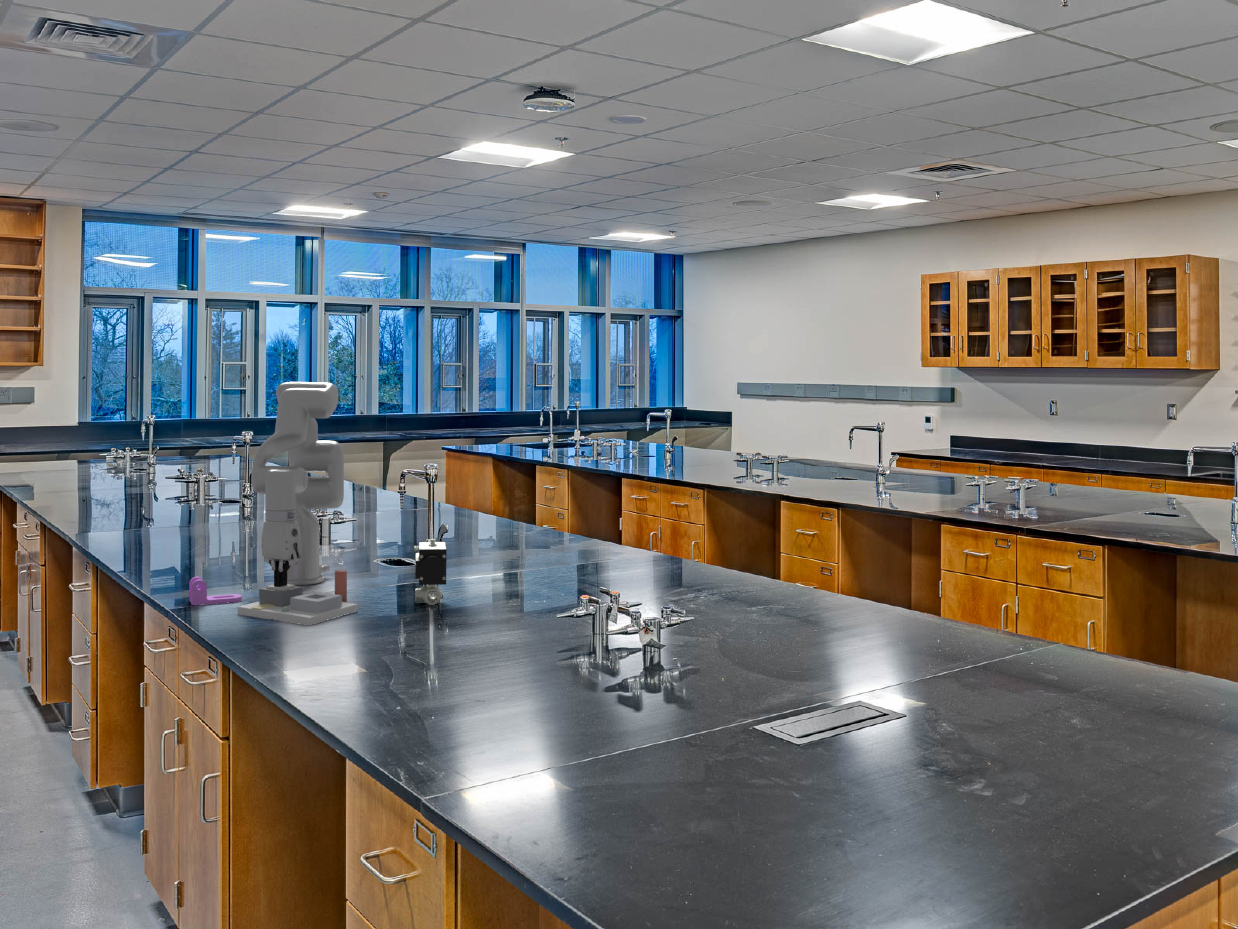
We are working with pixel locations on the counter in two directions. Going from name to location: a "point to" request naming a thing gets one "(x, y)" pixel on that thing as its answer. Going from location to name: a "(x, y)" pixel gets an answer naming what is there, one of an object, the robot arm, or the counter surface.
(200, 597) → the bracket
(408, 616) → the counter surface
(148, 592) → the counter surface
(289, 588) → the button
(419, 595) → the ball valve
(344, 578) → the peg
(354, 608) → the panel
